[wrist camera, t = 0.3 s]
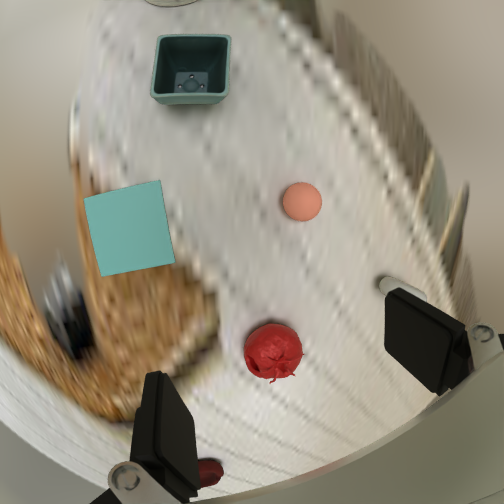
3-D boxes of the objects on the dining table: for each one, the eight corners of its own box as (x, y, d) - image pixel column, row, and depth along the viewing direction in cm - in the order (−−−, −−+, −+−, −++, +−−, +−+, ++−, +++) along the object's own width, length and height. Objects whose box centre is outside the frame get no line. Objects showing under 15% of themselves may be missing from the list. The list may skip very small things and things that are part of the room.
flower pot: (220, 114, 35) (228, 96, 26) (158, 115, 33) (149, 97, 24) (223, 62, 33) (231, 34, 24) (163, 63, 31) (157, 34, 22)
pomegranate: (268, 305, 44) (287, 332, 35) (305, 336, 47) (327, 364, 38) (227, 346, 44) (236, 379, 35) (266, 372, 47) (281, 405, 38)
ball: (275, 184, 39) (288, 185, 34) (310, 180, 40) (326, 180, 35) (280, 221, 40) (293, 227, 35) (313, 215, 41) (330, 220, 36)
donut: (405, 281, 49) (438, 299, 40) (398, 296, 50) (430, 316, 40) (374, 268, 46) (409, 287, 37) (366, 285, 47) (400, 307, 38)
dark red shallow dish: (147, 473, 50) (146, 486, 46) (153, 446, 48) (153, 462, 43) (209, 481, 55) (211, 494, 51) (225, 456, 53) (228, 471, 48)
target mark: (84, 198, 33) (83, 198, 33) (160, 180, 35) (159, 180, 35) (102, 276, 37) (101, 276, 36) (175, 262, 39) (175, 262, 38)
